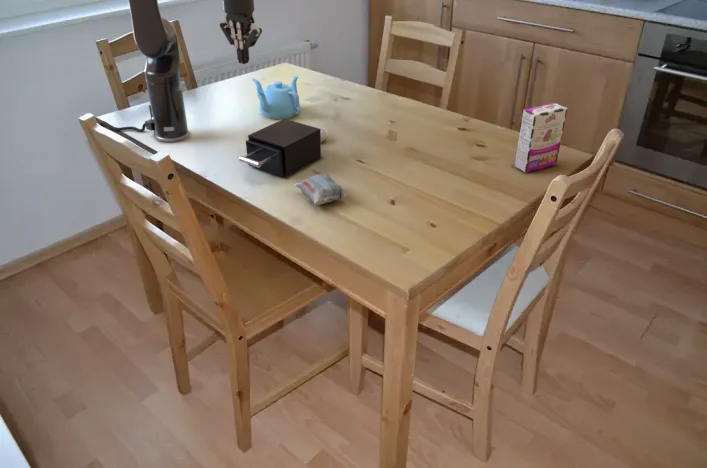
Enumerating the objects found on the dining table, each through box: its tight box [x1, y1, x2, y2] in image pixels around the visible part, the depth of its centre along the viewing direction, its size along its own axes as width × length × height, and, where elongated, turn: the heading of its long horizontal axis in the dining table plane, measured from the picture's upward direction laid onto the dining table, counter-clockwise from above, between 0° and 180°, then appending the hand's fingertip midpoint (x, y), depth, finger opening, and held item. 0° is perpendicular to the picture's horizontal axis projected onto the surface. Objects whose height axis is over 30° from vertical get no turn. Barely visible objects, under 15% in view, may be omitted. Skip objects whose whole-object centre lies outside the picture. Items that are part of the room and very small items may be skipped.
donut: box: [307, 124, 327, 143], centre depth 171 cm, size 10×4×10 cm
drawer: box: [238, 139, 284, 177], centre depth 154 cm, size 19×11×7 cm, turn 145°
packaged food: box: [293, 173, 348, 206], centre depth 141 cm, size 9×12×5 cm
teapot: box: [251, 74, 302, 120], centre depth 186 cm, size 15×15×10 cm
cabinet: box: [247, 118, 322, 178], centre depth 157 cm, size 15×13×9 cm
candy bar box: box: [514, 102, 569, 174], centre depth 155 cm, size 11×5×16 cm, turn 117°
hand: (243, 62), depth 151 cm, fingers closed
